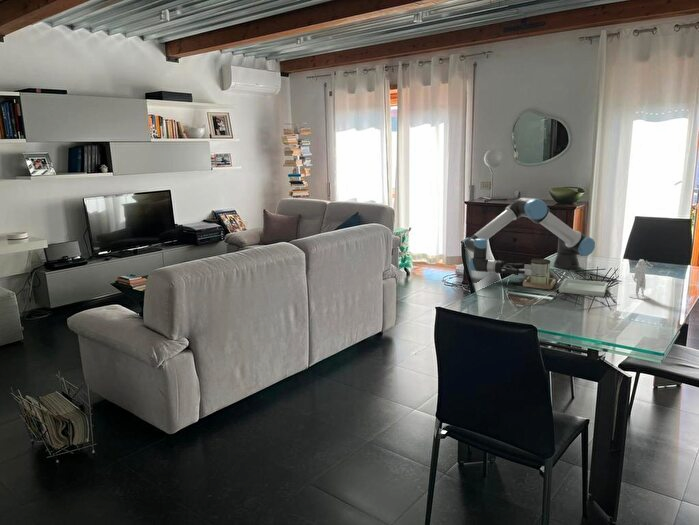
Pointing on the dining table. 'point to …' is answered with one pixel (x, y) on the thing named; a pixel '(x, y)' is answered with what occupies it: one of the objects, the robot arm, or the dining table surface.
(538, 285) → the wooden frame
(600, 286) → the tray
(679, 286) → the dining table surface
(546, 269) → the coffee can
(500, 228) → the robot arm
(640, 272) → the female figurine
